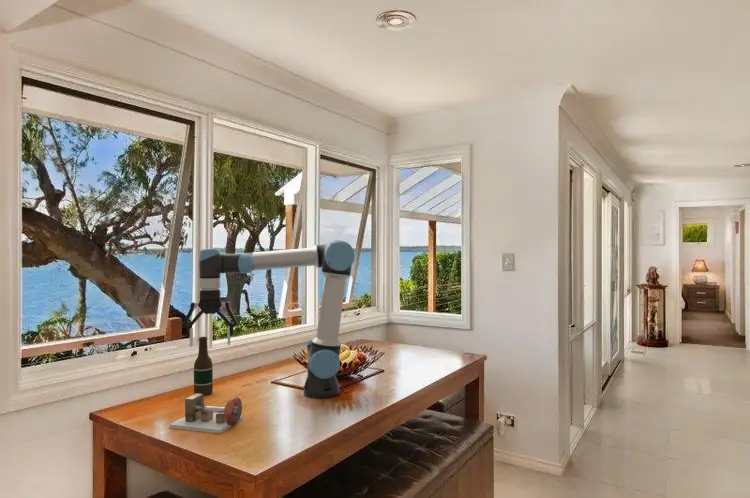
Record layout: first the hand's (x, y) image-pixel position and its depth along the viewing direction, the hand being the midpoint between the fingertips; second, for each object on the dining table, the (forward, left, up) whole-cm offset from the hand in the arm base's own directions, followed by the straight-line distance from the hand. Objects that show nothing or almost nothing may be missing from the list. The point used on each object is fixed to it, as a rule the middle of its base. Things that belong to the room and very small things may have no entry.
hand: (210, 345), depth 185 cm
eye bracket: (-8, +13, -23) cm, 28 cm away
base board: (-7, +13, -25) cm, 29 cm away
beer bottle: (+16, -18, -25) cm, 35 cm away
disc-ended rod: (-9, +13, -24) cm, 29 cm away
